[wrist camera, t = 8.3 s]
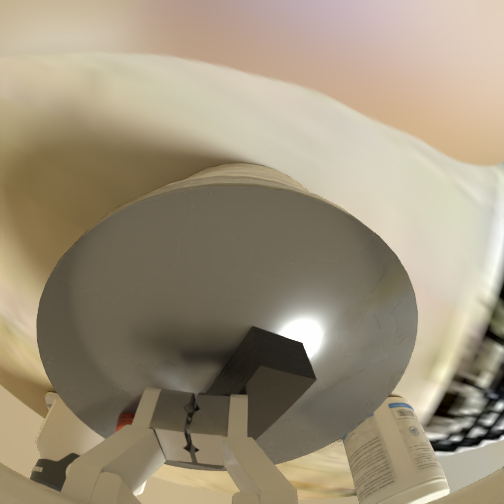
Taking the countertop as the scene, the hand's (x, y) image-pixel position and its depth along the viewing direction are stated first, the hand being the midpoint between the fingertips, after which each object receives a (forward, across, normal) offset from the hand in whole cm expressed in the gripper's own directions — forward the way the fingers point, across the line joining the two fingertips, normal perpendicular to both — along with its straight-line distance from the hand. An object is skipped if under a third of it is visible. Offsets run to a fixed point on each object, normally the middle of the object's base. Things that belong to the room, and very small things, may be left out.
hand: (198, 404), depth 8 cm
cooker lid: (+3, -1, +2) cm, 4 cm away
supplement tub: (+16, -18, +23) cm, 33 cm away
